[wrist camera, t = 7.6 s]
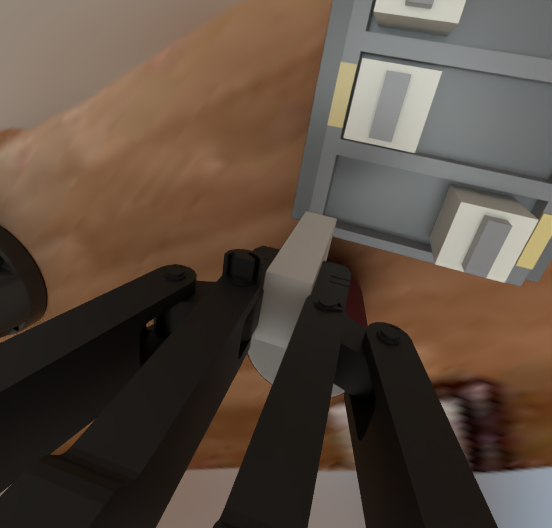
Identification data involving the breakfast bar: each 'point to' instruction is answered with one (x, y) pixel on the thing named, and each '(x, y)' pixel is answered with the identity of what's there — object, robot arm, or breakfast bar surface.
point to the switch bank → (437, 128)
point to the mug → (270, 356)
